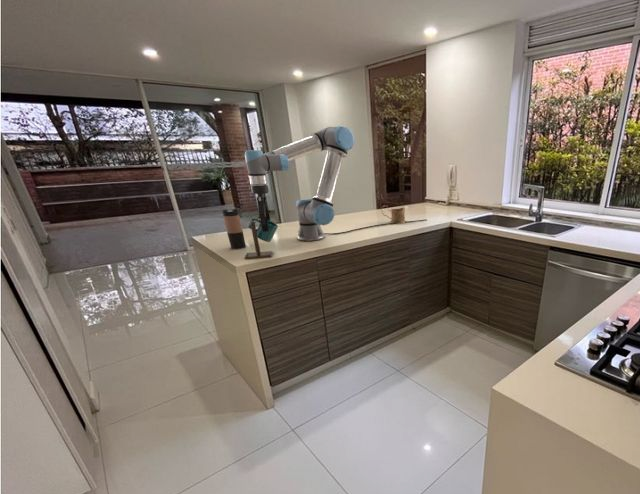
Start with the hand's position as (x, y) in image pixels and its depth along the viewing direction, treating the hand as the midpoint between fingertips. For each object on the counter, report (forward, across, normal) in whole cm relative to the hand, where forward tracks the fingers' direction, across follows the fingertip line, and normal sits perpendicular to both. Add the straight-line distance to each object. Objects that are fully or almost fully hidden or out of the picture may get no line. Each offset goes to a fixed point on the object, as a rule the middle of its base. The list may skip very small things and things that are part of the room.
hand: (267, 228), depth 172 cm
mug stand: (+13, +2, -6) cm, 14 cm away
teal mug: (+4, 0, -5) cm, 6 cm away
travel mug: (+13, -16, -18) cm, 28 cm away
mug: (+13, -56, +80) cm, 98 cm away
